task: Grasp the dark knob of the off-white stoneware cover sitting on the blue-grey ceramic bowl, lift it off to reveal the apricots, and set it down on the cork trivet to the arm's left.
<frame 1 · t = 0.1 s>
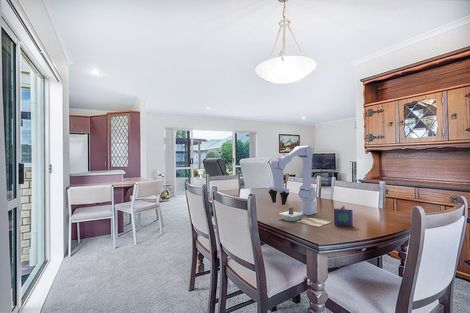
hand: (278, 203, 145), 10 cm above the table, fingers open, 7 cm apart
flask: (343, 226, 134), on the table
bowl: (291, 219, 149), on the table
cover: (291, 214, 149), point 3 cm above the table, touching bowl
trivet: (314, 222, 141), on the table
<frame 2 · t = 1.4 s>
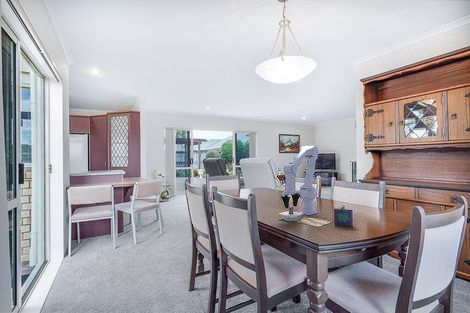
hand: (290, 207, 148), 7 cm above the table, fingers open, 7 cm apart
nothing on the table moved.
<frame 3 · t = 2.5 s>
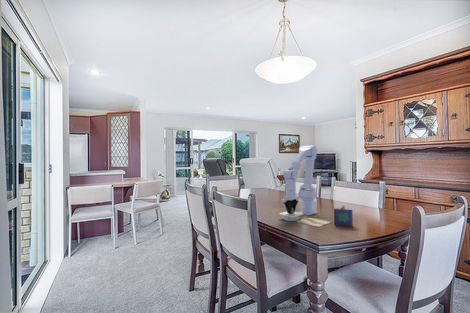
hand: (291, 212, 149), 4 cm above the table, fingers closed on cover, 3 cm apart
cover: (291, 214, 149), point 3 cm above the table, touching bowl, gripper
everything else where it was.
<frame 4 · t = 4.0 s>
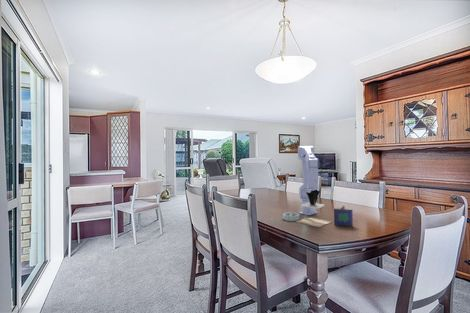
hand: (313, 203, 141), 10 cm above the table, fingers closed on cover, 3 cm apart
cover: (312, 205, 141), point 9 cm above the table, touching gripper
everything else where it was.
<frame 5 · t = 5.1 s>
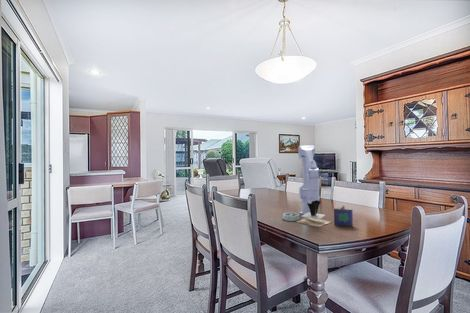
hand: (314, 214, 141), 5 cm above the table, fingers closed on cover, 3 cm apart
cover: (313, 216, 141), point 3 cm above the table, touching gripper
everything else where it was.
when the fingers open (3 cm above the table, at t = 5.8 s): cover drops 1 cm, resting on trivet.
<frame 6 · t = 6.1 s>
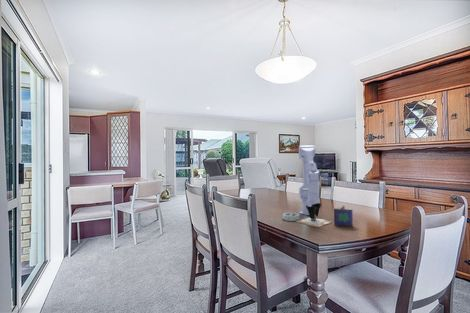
hand: (314, 217, 141), 3 cm above the table, fingers open, 6 cm apart
cover: (313, 221, 141), resting on trivet
everything else where it was.
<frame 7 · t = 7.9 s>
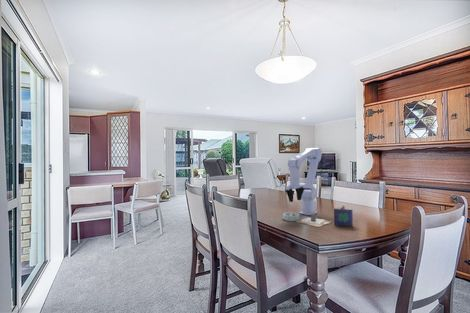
hand: (295, 200, 151), 10 cm above the table, fingers open, 7 cm apart
nothing on the table moved.
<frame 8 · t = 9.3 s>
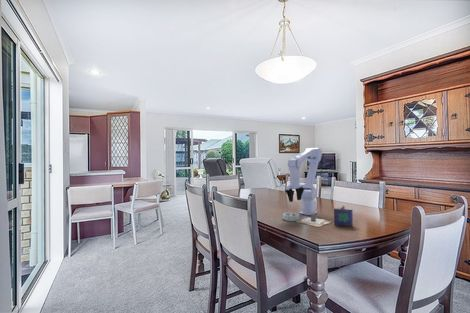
hand: (295, 200, 151), 10 cm above the table, fingers open, 7 cm apart
nothing on the table moved.
at the end: cover 0.3 cm from the trivet (horizontally); cover resting on trivet; cover touching trivet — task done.
